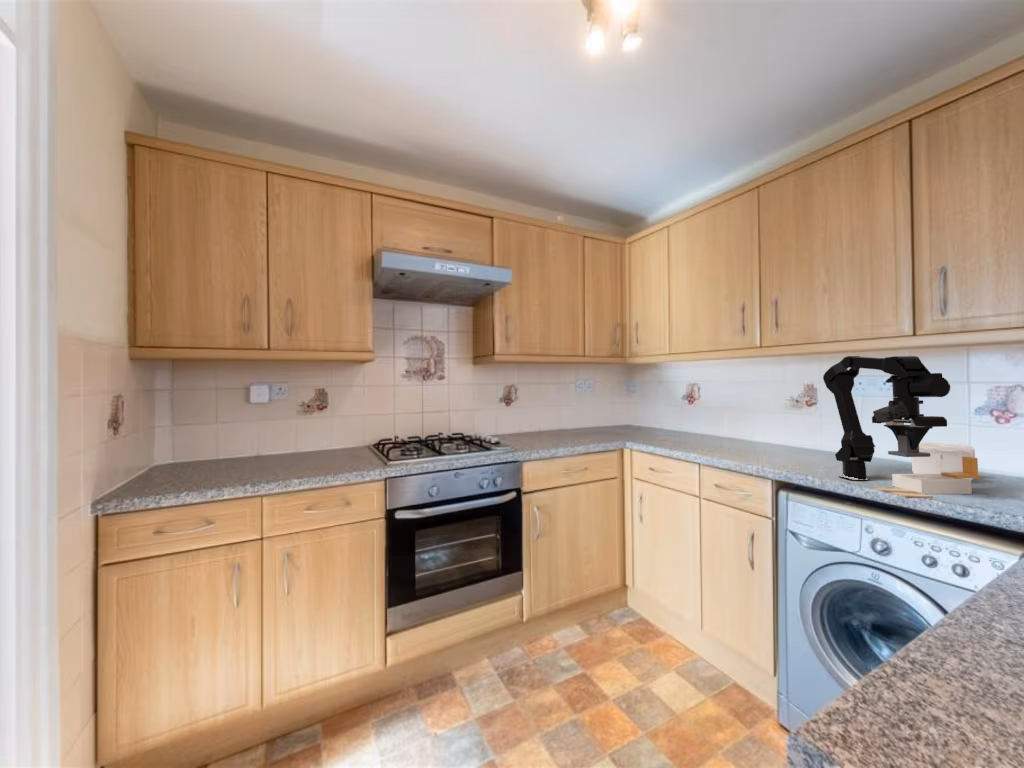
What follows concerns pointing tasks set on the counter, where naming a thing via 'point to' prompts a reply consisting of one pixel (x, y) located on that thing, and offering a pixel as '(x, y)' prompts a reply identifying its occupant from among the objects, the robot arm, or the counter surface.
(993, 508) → the counter surface
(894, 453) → the plug
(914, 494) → the cork pad
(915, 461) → the cable organizer
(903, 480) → the white recessed block
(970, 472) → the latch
